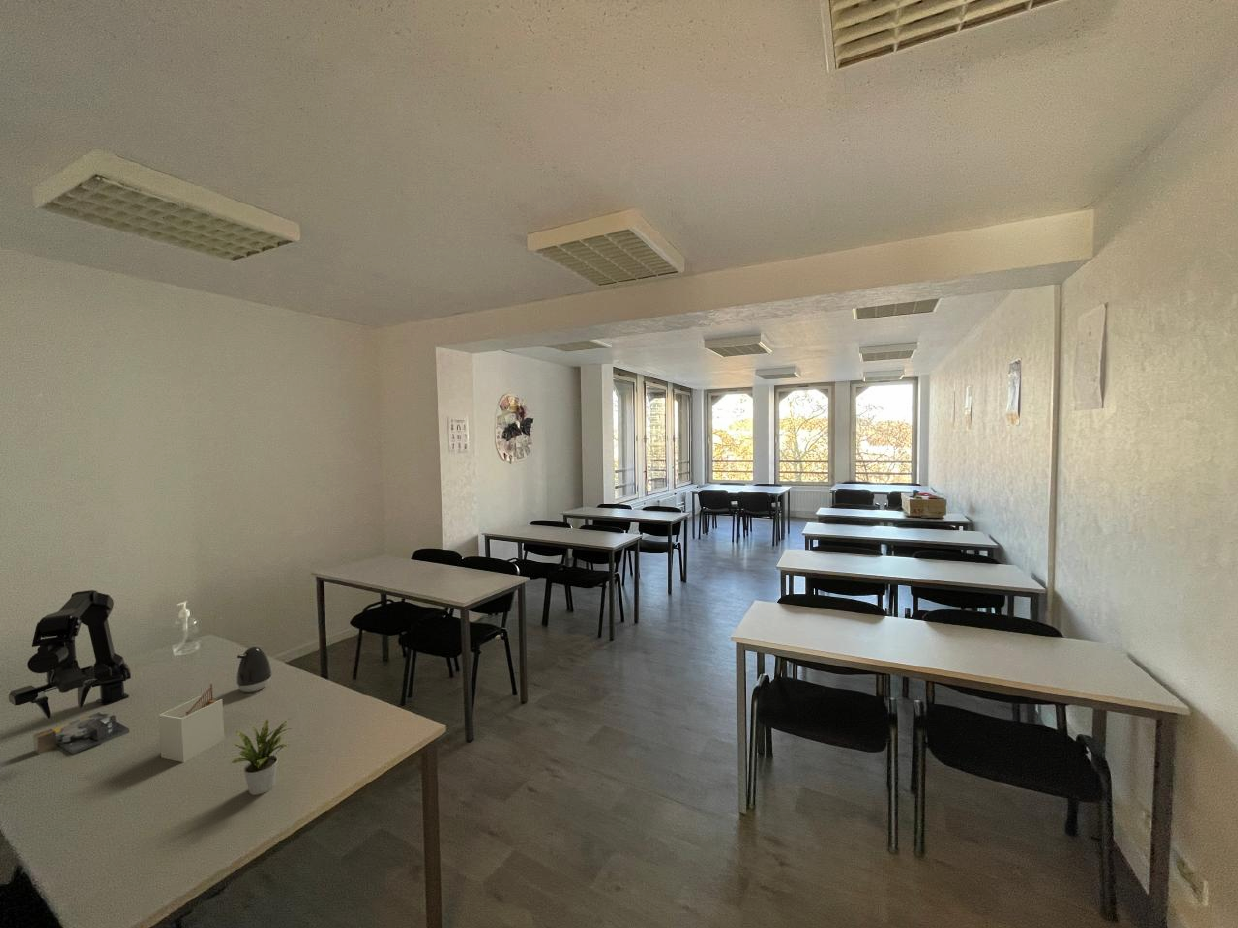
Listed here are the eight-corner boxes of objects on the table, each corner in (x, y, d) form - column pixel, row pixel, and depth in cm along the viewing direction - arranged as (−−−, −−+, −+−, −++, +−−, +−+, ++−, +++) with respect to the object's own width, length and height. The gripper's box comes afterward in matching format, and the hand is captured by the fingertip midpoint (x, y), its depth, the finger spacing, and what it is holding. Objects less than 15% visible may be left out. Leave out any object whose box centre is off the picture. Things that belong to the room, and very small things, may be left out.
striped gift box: (34, 751, 141) (32, 734, 141) (52, 744, 144) (50, 728, 144) (38, 754, 140) (37, 737, 139) (56, 747, 143) (55, 731, 143)
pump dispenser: (228, 693, 172) (226, 651, 171) (258, 680, 182) (256, 639, 181) (250, 697, 169) (247, 654, 168) (279, 683, 179) (276, 642, 178)
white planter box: (225, 739, 146) (222, 685, 145) (183, 763, 135) (180, 704, 135) (203, 735, 148) (200, 682, 147) (161, 758, 138) (157, 700, 137)
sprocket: (48, 735, 147) (47, 723, 147) (106, 714, 158) (105, 703, 158) (72, 751, 139) (71, 738, 138) (131, 728, 150) (131, 716, 150)
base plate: (44, 735, 149) (43, 731, 149) (99, 715, 160) (98, 712, 160) (73, 754, 139) (72, 750, 139) (129, 731, 150) (129, 728, 150)
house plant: (304, 788, 124) (301, 725, 123) (235, 818, 114) (231, 750, 113) (292, 762, 134) (289, 704, 133) (227, 788, 124) (224, 726, 124)
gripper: (20, 679, 127) (25, 737, 127) (118, 650, 143) (122, 702, 144) (5, 670, 132) (10, 727, 132) (102, 644, 148) (105, 694, 149)
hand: (65, 712), depth 139 cm, fingers open, 6 cm apart
